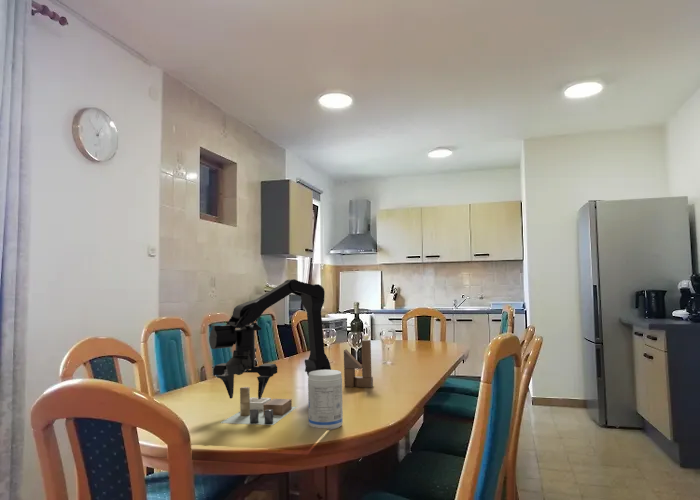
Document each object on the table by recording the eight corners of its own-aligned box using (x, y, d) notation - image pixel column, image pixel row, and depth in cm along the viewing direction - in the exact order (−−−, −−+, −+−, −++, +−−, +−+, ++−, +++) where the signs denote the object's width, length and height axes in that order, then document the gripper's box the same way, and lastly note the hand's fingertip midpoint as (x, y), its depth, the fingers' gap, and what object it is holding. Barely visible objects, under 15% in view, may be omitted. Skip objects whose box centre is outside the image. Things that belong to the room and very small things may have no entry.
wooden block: (346, 385, 189) (345, 339, 190) (373, 386, 186) (371, 339, 188) (344, 387, 185) (343, 340, 187) (371, 387, 183) (369, 340, 184)
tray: (271, 405, 153) (271, 397, 154) (262, 411, 147) (262, 403, 147) (251, 405, 155) (251, 397, 155) (241, 410, 148) (241, 402, 148)
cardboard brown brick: (291, 408, 149) (291, 399, 149) (282, 415, 141) (282, 405, 141) (273, 408, 150) (273, 398, 150) (263, 414, 142) (263, 404, 143)
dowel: (251, 413, 144) (251, 386, 144) (247, 416, 141) (247, 388, 142) (242, 413, 144) (242, 386, 145) (238, 416, 141) (238, 388, 142)
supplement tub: (309, 421, 137) (309, 369, 138) (342, 420, 137) (341, 368, 138) (307, 431, 127) (306, 375, 128) (343, 430, 127) (341, 374, 128)
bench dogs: (274, 422, 134) (274, 409, 134) (271, 424, 132) (271, 411, 132) (252, 421, 135) (252, 408, 136) (248, 423, 133) (248, 410, 133)
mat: (297, 409, 151) (297, 406, 151) (272, 427, 131) (272, 424, 131) (251, 407, 155) (251, 405, 155) (219, 425, 134) (219, 422, 135)
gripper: (203, 349, 139) (203, 404, 137) (263, 349, 135) (263, 405, 133) (221, 344, 149) (221, 395, 148) (277, 344, 145) (278, 397, 144)
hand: (245, 398), depth 143 cm, fingers open, 9 cm apart
